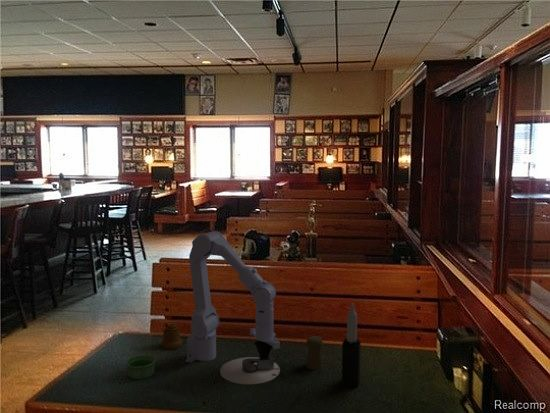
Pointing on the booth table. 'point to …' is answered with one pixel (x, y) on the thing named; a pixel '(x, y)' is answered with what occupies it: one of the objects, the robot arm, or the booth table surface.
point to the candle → (351, 352)
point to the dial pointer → (257, 364)
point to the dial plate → (247, 373)
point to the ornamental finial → (171, 337)
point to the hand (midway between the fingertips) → (264, 362)
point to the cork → (314, 354)
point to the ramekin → (141, 366)
